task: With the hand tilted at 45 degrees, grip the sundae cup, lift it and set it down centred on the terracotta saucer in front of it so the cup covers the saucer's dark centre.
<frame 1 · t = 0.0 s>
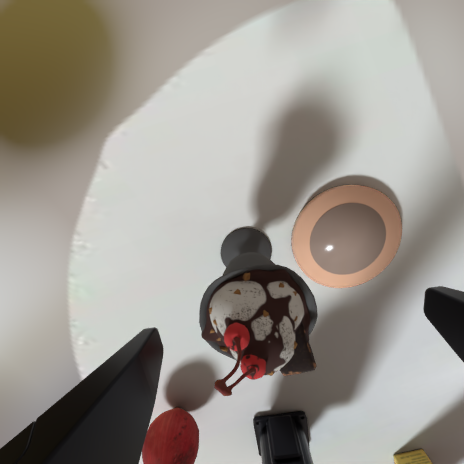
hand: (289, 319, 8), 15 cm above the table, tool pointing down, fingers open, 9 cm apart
onion: (179, 407, 29), on the table
sundae: (245, 251, 23), on the table
saucer: (343, 237, 23), on the table
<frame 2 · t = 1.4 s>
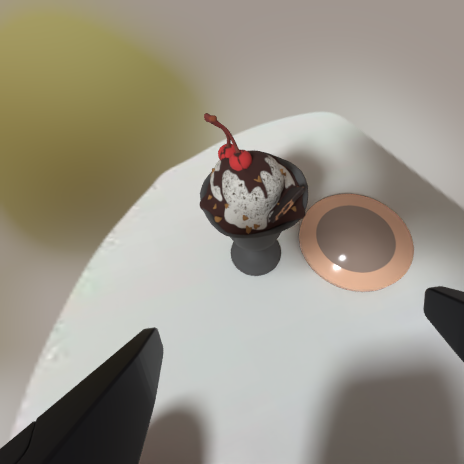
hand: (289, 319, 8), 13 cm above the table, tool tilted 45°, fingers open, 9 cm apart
sundae: (254, 252, 24), on the table
saucer: (351, 240, 23), on the table
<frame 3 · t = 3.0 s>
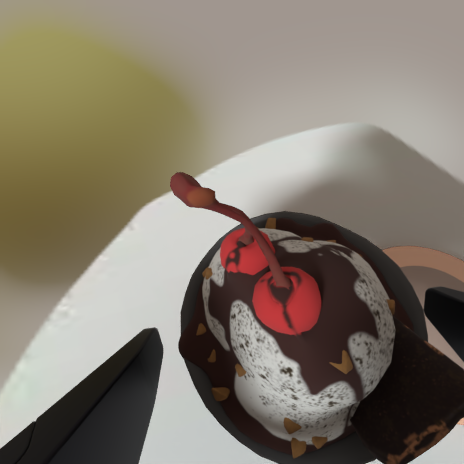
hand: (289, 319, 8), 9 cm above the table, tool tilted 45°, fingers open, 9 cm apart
sundae: (274, 338, 16), on the table
saucer: (424, 322, 15), on the table
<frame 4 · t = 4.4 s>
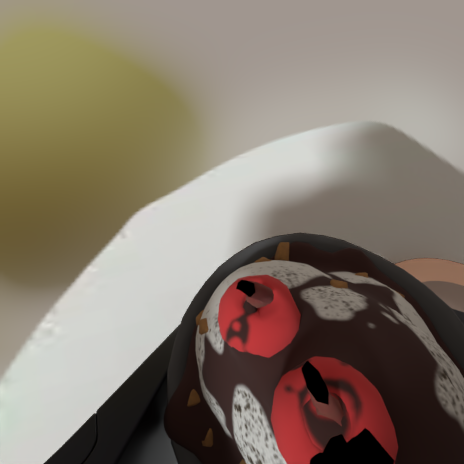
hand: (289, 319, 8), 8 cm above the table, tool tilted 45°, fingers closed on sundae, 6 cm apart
sundae: (280, 361, 14), on the table, touching gripper
saucer: (447, 345, 13), on the table
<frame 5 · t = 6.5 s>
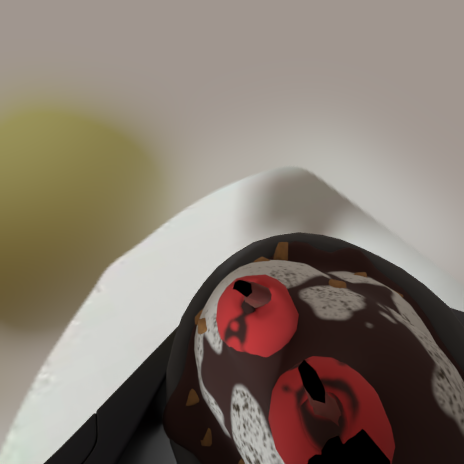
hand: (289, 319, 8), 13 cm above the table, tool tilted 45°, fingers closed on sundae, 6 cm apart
sundae: (279, 360, 14), point 6 cm above the table, touching gripper
when the fingers open (9 cm above the table, at t = 8.9 s): sundae stays where it is, resting on saucer.
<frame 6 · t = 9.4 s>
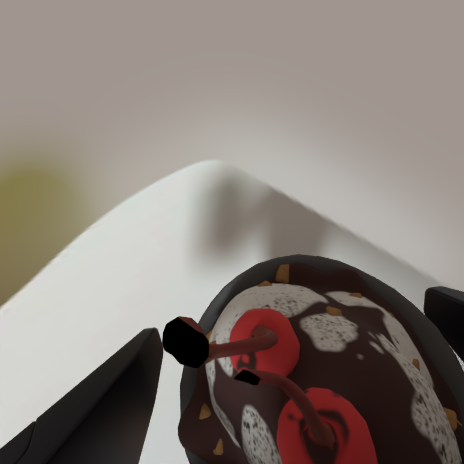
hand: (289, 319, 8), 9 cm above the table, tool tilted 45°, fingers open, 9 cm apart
sundae: (281, 364, 15), point 1 cm above the table, touching saucer
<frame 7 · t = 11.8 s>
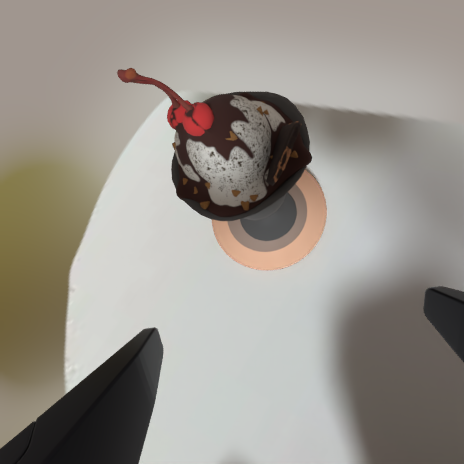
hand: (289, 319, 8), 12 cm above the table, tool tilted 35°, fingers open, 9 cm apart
sundae: (267, 214, 21), point 1 cm above the table, touching saucer
saucer: (266, 214, 21), on the table
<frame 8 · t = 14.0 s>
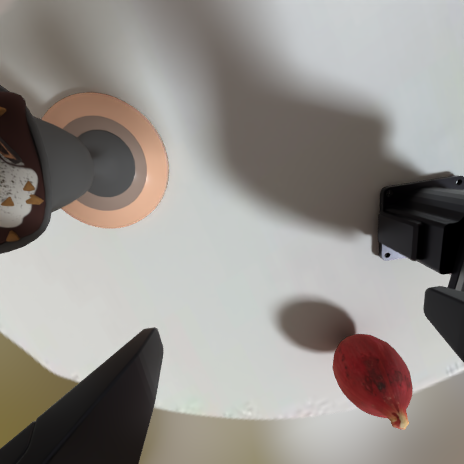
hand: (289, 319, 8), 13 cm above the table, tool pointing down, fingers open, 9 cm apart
onion: (347, 339, 24), on the table
sundae: (104, 165, 18), point 1 cm above the table, touching saucer
saucer: (106, 165, 19), on the table
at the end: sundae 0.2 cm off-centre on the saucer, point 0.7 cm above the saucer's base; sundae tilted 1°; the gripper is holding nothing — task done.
